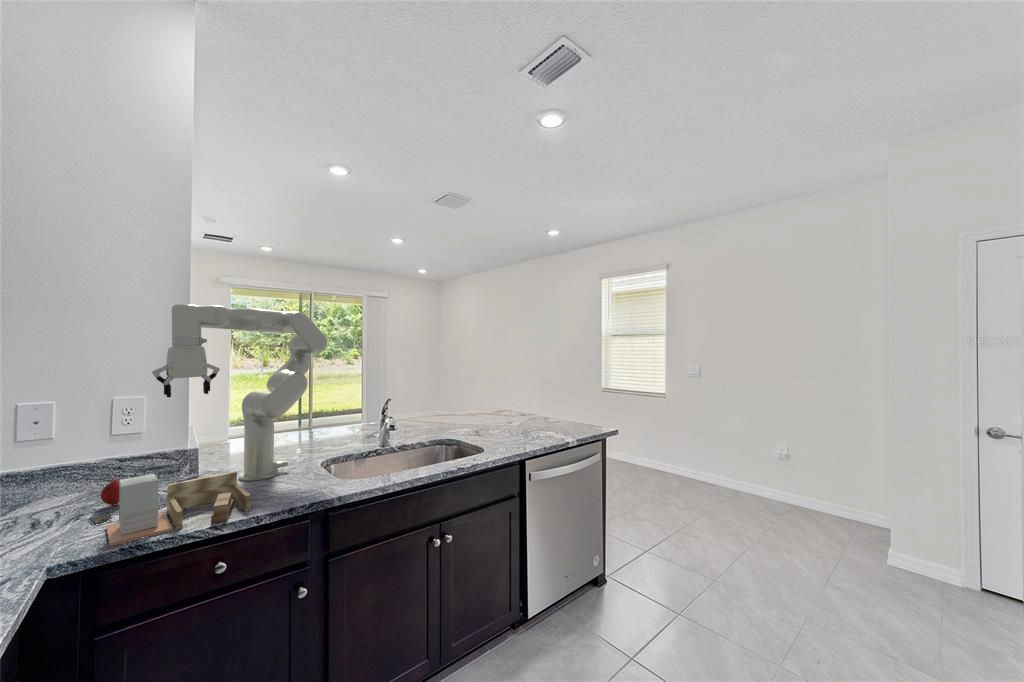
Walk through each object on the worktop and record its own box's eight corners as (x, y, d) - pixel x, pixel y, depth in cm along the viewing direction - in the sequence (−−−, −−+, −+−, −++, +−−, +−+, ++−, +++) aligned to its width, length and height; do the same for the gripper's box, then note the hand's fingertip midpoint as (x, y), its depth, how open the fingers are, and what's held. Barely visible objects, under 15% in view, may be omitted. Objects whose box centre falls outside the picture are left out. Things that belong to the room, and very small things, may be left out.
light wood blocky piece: (235, 495, 134) (235, 471, 134) (250, 510, 123) (250, 483, 123) (167, 511, 121) (167, 484, 121) (176, 529, 110) (177, 499, 110)
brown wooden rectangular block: (219, 509, 124) (219, 492, 124) (234, 507, 125) (234, 490, 125) (210, 525, 113) (210, 506, 113) (227, 522, 115) (227, 504, 115)
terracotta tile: (164, 515, 119) (164, 512, 119) (172, 530, 109) (172, 527, 109) (106, 528, 110) (106, 525, 110) (109, 546, 100) (109, 543, 100)
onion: (110, 510, 122) (110, 483, 122) (95, 508, 123) (95, 481, 123) (132, 502, 128) (132, 476, 128) (117, 501, 129) (117, 475, 129)
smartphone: (164, 506, 123) (93, 524, 111) (164, 509, 123) (93, 527, 111) (155, 501, 128) (87, 517, 115) (155, 503, 128) (87, 520, 115)
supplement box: (155, 518, 115) (155, 473, 115) (158, 526, 109) (158, 479, 109) (118, 526, 109) (118, 479, 109) (120, 536, 104) (120, 486, 104)
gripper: (216, 342, 142) (216, 391, 142) (149, 342, 129) (150, 397, 130) (222, 342, 137) (222, 393, 137) (153, 343, 124) (154, 399, 125)
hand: (187, 395), depth 133 cm, fingers open, 9 cm apart
